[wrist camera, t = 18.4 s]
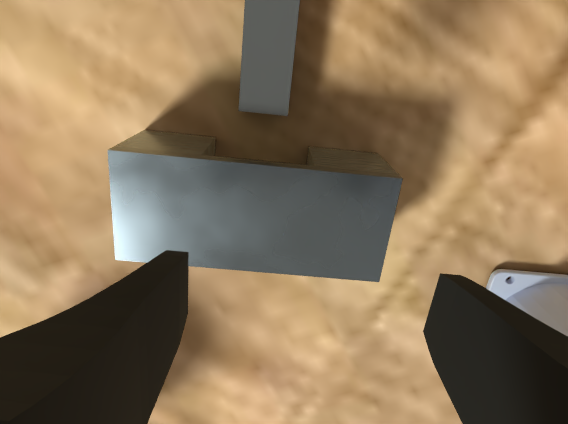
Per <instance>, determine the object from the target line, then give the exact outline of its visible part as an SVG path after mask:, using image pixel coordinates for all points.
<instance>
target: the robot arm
mask: <svg viewBox="0 0 568 424" xmlns="http://www.w3.org/2000/svg"><path fill="white" fill-rule="evenodd" d="M188 256H189V252H183V251H171V250H166V251H164V252H163V253H161V254H159V255H158V256H156V257H155V258H153V259H152V260H150V261H149V262H147V263H146V264H144V265H143V266H141V267H140V268H138V269H137V270H135V271H134V272H132V273H131V274H129V275H128V276H126V277H125V278H123V279H121V280H120V281H118V282H117V283H115V284H113V285H111V286H110V287H108V288H106V289H105V290H103V291H101V292H99V293H98V294H96V295H94V296H92V297H91V298H89V299H87V300H85V301H83V302H82V303H80V304H78V305H76V306H74V307H72V308H70V309H68V310H65V311H63V312H61V313H59V314H57V315H55V316H53V317H50V318H48V319H46V320H44V321H41V322H39V323H36V324H34V325H31V326H29V327H26V328H24V329H21V330H19V331H16V332H13V333H11V334H8V335H6V336H3V337H1V338H0V424H147V423H148V420H149V418H150V415H151V413H152V410H153V408H154V406H155V403H156V401H157V398H158V396H159V393H160V391H161V389H162V386H163V384H164V381H165V379H166V376H167V374H168V372H169V369H170V367H171V364H172V362H173V359H174V357H175V354H176V352H177V349H178V347H179V344H180V341H181V337H182V333H183V330H184V326H185V322H186V318H187V314H188ZM510 276H511V277H510ZM508 277H510V279H508V280H506V279H507V278H508ZM423 332H424V335H425V339H426V342H427V345H428V349H429V352H430V355H431V357H432V360H433V363H434V365H435V368H436V370H437V372H438V374H439V376H440V378H441V380H442V382H443V384H444V387H445V389H446V391H447V393H448V395H449V397H450V399H451V401H452V403H453V405H454V407H455V409H456V411H457V413H458V415H459V417H460V419H461V421H462V423H463V424H568V275H564V274H552V273H541V272H529V271H518V270H506V269H498V270H495V271H494V272H493V273H492V274H491V275H490V278H489V281H488V284H487V287H486V288H484V287H483V286H481V285H479V284H477V283H476V282H474V281H472V280H470V279H468V278H466V277H464V276H461V275H451V274H440V276H439V279H438V283H437V286H436V290H435V293H434V296H433V300H432V303H431V307H430V310H429V313H428V317H427V320H426V323H425V327H424V330H423Z"/></svg>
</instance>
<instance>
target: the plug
mask: <svg viewBox="0 0 568 424" xmlns="http://www.w3.org/2000/svg"><path fill="white" fill-rule="evenodd" d="M299 4H300V0H245V9H244V26H243V43H242V61H241V78H240V96H239V111H244V112H254V113H263V114H273V115H283V116H288V109H289V99H290V89H291V80H292V70H293V61H294V51H295V42H296V32H297V23H298V13H299Z"/></svg>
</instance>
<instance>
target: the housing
mask: <svg viewBox="0 0 568 424" xmlns="http://www.w3.org/2000/svg"><path fill="white" fill-rule="evenodd" d="M215 142H216V137H211V136H201V135H191V134H181V133H171V132H161V131H151V130H143V131H141V132H140V133H138V134H136V135H134V136H132V137H130V138H129V139H127V140H125V141H123V142H121V143H120V144H118V145H116V146H114V147H112V148H110V149H109V150H108V162H109V177H110V191H111V205H112V220H113V234H114V249H115V260H122V261H134V262H146V263H147V262H149V261H150V260H152V259H153V258H155V257H156V256H158V255H159V254H161V253H163V252H164V251H166V250H171V251H183V252H189V256H188V266H194V267H206V268H218V269H230V270H242V271H254V272H265V273H277V274H289V275H301V276H313V277H325V278H337V279H349V280H361V281H373V282H379V281H380V276H381V272H382V267H383V263H384V259H385V254H386V250H387V246H388V241H389V237H390V232H391V228H392V224H393V219H394V215H395V210H396V206H397V202H398V197H399V193H400V189H401V184H402V180H403V179H402V178H401V177H400V176H399V175H398V174H397V173H396V172H395V171H394V170H393V169H392V168H391V167H390V166H389V165H388V164H387V163H386V162H385V161H384V160H383V159H382V158H381V157H380V156H379V155H378V154H377V153H370V152H360V151H350V150H340V149H330V148H320V147H310V146H309V148H308V156H307V164H306V165H302V164H291V163H281V162H271V161H261V160H251V159H240V158H230V157H220V156H215Z"/></svg>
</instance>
